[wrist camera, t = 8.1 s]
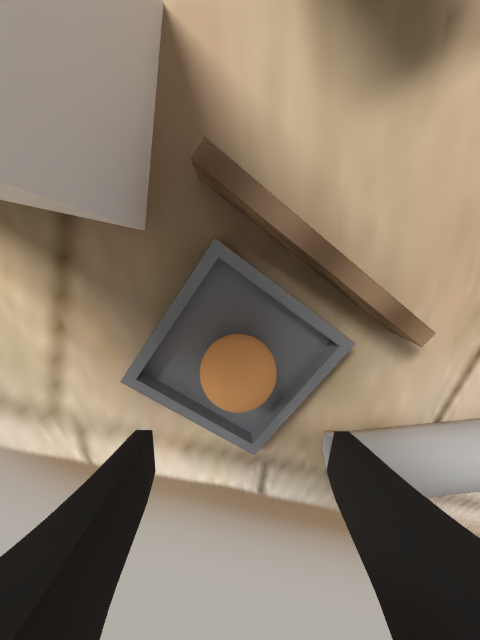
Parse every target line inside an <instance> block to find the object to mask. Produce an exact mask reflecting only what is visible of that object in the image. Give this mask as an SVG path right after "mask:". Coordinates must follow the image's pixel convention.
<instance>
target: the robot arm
mask: <svg viewBox="0 0 480 640" xmlns="http://www.w3.org/2000/svg"><path fill="white" fill-rule="evenodd" d="M326 471H327V474H328V478H329V481H330V484H331V487H332V490H333V493H334V496H335V499H336V502H337V504H338V507H339V509H340V511H341V514H342V516H343V518H344V521H345V523H346V525H347V528H348V530H349V532H350V535H351V537H352V539H353V541H354V543H355V546H356V548H357V550H358V553H359V555H360V557H361V560H362V562H363V564H364V566H365V569H366V571H367V573H368V575H369V578H370V580H371V583H372V585H373V587H374V590H375V592H376V595H377V597H378V600H379V602H380V605H381V608H382V611H383V614H384V616H385V619H386V622H387V625H388V628H389V630H390V633H391V636H392V639H393V640H480V538H478V537H477V536H476V535H474V534H473V533H472V532H470V531H469V530H468V529H466V528H465V527H463V526H462V525H461V524H459V523H458V522H457V521H455V520H454V519H453V518H451V517H450V516H449V515H447V514H446V513H445V512H444V511H442V510H441V509H440V508H439V507H437V506H436V505H435V504H433V503H432V502H431V501H430V500H428V499H427V498H426V497H425V496H423V495H422V494H421V493H420V492H419V491H417V490H416V489H415V488H414V487H412V486H411V485H410V484H409V483H408V482H406V481H405V480H404V479H403V478H402V477H401V476H399V475H398V474H397V473H396V472H395V471H394V470H392V469H391V468H390V467H389V466H388V465H387V464H386V463H384V462H383V461H382V460H381V459H380V458H379V457H378V456H376V455H375V454H374V453H373V452H372V451H371V450H370V449H369V448H367V447H366V446H365V445H364V444H363V443H362V442H361V441H359V440H358V439H357V438H356V437H355V436H354V435H352V434H351V433H350V432H347V431H334V434H333V440H332V445H331V450H330V455H329V460H328V465H327V470H326ZM154 475H155V459H154V447H153V434H152V430H136V431H135V432H134V433H133V434H132V435H131V436H130V437H129V438H128V439H127V440H126V441H125V442H124V443H123V444H122V445H121V446H120V447H119V448H118V449H117V450H116V451H115V452H114V453H113V454H112V456H111V457H110V458H109V459H108V460H107V461H106V462H105V463H104V464H103V465H102V466H101V467H100V468H99V469H98V470H97V471H96V472H95V473H94V474H93V475H92V476H91V477H90V478H89V479H88V480H87V481H86V482H85V483H84V484H83V485H82V486H81V487H79V488H78V489H77V490H76V491H75V492H74V493H73V494H72V495H71V496H70V497H69V498H68V499H67V500H66V501H65V502H63V504H61V505H60V506H59V507H58V508H57V509H56V510H55V511H54V512H53V513H51V514H50V515H49V516H48V517H47V518H46V519H45V520H44V521H43V522H41V523H40V524H39V525H38V526H37V527H36V528H35V529H33V530H32V531H31V532H30V533H29V534H28V535H26V536H25V537H24V538H23V539H22V540H20V541H19V542H18V543H17V544H16V545H14V546H13V547H12V548H11V549H10V550H8V551H7V552H6V553H5V554H3V555H2V556H1V557H0V640H100V636H101V633H102V629H103V626H104V623H105V619H106V616H107V613H108V609H109V607H110V604H111V601H112V597H113V594H114V592H115V588H116V586H117V583H118V580H119V578H120V575H121V572H122V570H123V567H124V564H125V562H126V559H127V556H128V553H129V551H130V547H131V545H132V543H133V540H134V537H135V534H136V532H137V529H138V526H139V524H140V521H141V518H142V515H143V513H144V510H145V507H146V504H147V501H148V497H149V494H150V490H151V486H152V483H153V479H154Z"/></svg>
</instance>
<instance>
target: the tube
mask: <svg viewBox="0 0 480 640" xmlns="http://www.w3.org/2000/svg"><path fill="white" fill-rule="evenodd" d="M347 432H350V433H351V434H352V435H354V436H355V437H356V438H357V439H358V440H359V441H361V442H362V443H363V444H364V445H365V446H366V447H367V448H369V449H370V450H371V451H372V452H373V453H374V454H375V455H376V456H378V457H379V458H380V459H381V460H382V461H383V462H384V463H386V464H387V465H388V466H389V467H390V468H391V469H392V470H394V471H395V472H396V473H397V474H398V475H399V476H401V477H402V478H403V479H404V480H405V481H406V482H408V483H409V484H410V485H411V486H412V487H414V488H415V489H416V490H417V491H419V492H420V493H421V494H422V495H423V496H425V497H434V496H443V495H452V494H461V493H471V492H480V418H478V419H468V420H458V421H447V422H437V423H427V424H417V425H406V426H396V427H386V428H376V429H366V430H355V431H347ZM333 434H334V432H332V431H324V432H323V458H324V463H325V468H326V470H327V465H328V460H329V455H330V450H331V445H332V440H333ZM326 474H327V471H326ZM327 477H328V474H327ZM328 479H329V478H328Z"/></svg>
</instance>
